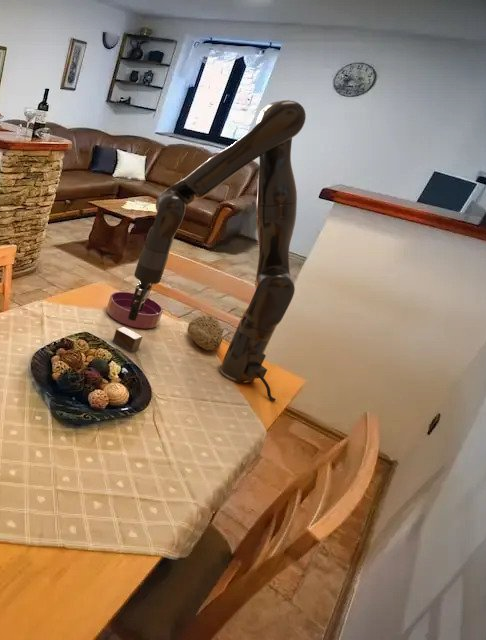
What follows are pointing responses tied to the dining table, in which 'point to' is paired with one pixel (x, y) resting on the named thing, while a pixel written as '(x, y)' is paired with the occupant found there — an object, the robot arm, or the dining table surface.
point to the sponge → (206, 332)
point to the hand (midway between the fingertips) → (135, 314)
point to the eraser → (127, 339)
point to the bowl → (121, 309)
